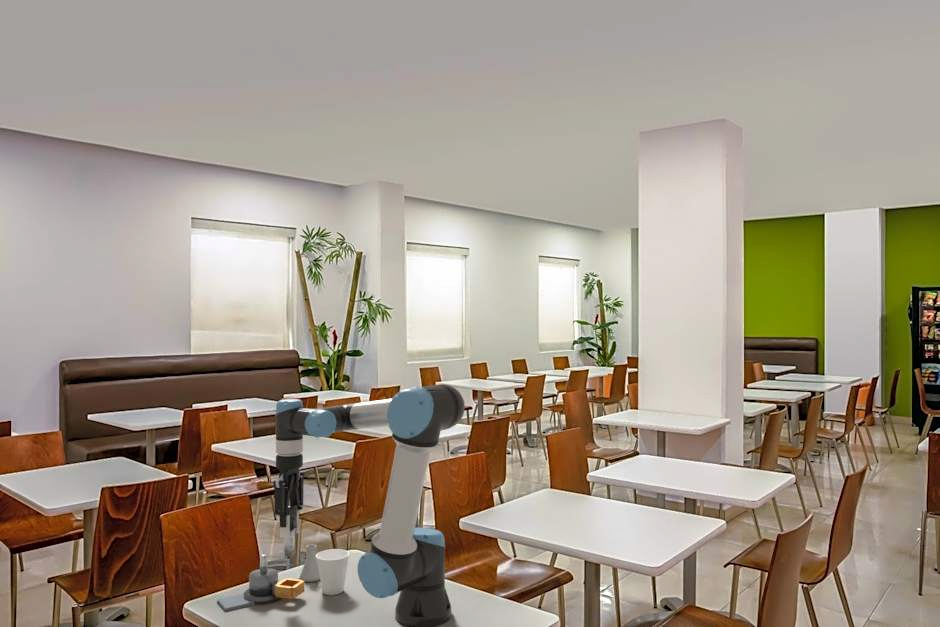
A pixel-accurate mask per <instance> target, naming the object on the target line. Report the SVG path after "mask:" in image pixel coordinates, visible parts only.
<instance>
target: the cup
mask: <svg viewBox="0 0 940 627" xmlns="http://www.w3.org/2000/svg"><path fill="white" fill-rule="evenodd" d="M350 555H351V553H350V551H349V550H346V549H339V548H332V549H331V548H330V549H325V550H323V551H319V552H316V558H317V563H318V569H319V574H320V580H319V581H320V587H321V592H322V593H323V594H324V595H327V596H337V595H339V594H341V593H343V591H344V588H345V581H346V577H347V575H346V574H347V569H348V563H349V558H350Z"/></svg>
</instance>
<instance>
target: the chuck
mask: <svg viewBox="0 0 940 627" xmlns="http://www.w3.org/2000/svg"><path fill="white" fill-rule="evenodd" d="M248 589H249V593H250V594H251V595H254V596H266V595H270V594H275V596H277V597H280V598H281V599H289V600H291V599H296V598H297V597H299V596H300V595H302V594H304V593H305V581H302V580H299V578H298V579H297V578H284V579H283V580H282V579H279V571H278V569H274V568H268V554H266V553H262V554H260V555H259V569H255V570H252V571H251V572H249V575H248Z"/></svg>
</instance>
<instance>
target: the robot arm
mask: <svg viewBox="0 0 940 627" xmlns="http://www.w3.org/2000/svg"><path fill="white" fill-rule="evenodd" d="M303 403H304V402H303V400H302V399H297V398H291V399H288V398H287V399H286V398H285V399H280V400H278V401H277V402H276V404H275V413H274V416H275V453H276V456H275V467H276V468H277V469H278V470H279V472H278V473H279V475H278V478H277V479H275V480H273V481H272V484H273V488H274V495H273V497H274V515H275V516H278V517H279V539H284V538H285V539H289V538H290V515H288V508H289V504H295V505H297V528H295V535H296V534H299V533H300V532H299V531H300V530H299V529H300V527H299V526H300V525H299V524H300V522H299V520H300V518H299V517H300V516H299V515H300V512H299V511H301V510H303V508H304V507H303V506H304V479H305V471H300V469H301V468H302V467H303V465H304V464H303V463H304V458H303V456H304V454H303V452H304V446H303V445H304V443H303V442H304V441H303V436H307V437H308V436H309V437H313V438H328V437H330V436H331V435H332V434H333V433H334V434H335V433H339V432H346V431H353V430H361V429H362V430H363V429H373V428H382V427H383V428H384V427H389V430H390V431H391V433H392V435H391V438H392V440H393V441H394V442H395V444H396V446H395V450H394V456H393V461H392V465H391V471H390V478H389V482H388V487H387V492H386V497H385V503H384V507H383V513H382V518H381V523H380V528H379V531H378V532H376V533H374V534H373V536H372V538H371V543H370V548H369V551H368V552H365V553H364V554H363V555H362V556H360V557H359V559H358V563H357V576H358V580H359V582H360V583H361V585H362V587H363V589H364V590H365V591H366V592H367V593H368V594H369V595H370V596H372V597H374V598H377V599H385V598H388V597H393V596H394V595H396V594H398V593H399V596H398V598H397V602H396V605H395V609H394V610H395V613H394V614H395V616H394V618H395V619H396V621H397V622H398V623H399V624H401V625H403V626H408V627H435V626H439V625H441V624H445V623H446V622H448V621H449V620H450V619H451V617H452V605H451V601H450V599H449V596H448V592H447V589H446V586H445V585H446V584H445V580H446V579H445V578H446V574H445V573H446V571H445V569H446V567H445V566H446V563H445V562H446V561H445V560H446V559H445V558H446V557H445V556H446V555H445V554H446V550H445V549H446V543H445V536H444V534H443V533H442V531H440V530H439V529H434V528H429V527H428V528H427V527H416V523H417V518H418V514H419V510H420V509H419V508H420V503H421V498H422V494H423V489H424V485H425V479H426V473H427V469H428V463H429V459H430V456H431V455H430V454H431V450H434V449H435V448H436V447H438V444H439V441H440V440H439V439H440V437H441V436H440V435H441V431H445V430H450V429H451V428H453V427H455V426H456V425H457V424H459V423H460V421H461V420H462V418H463V416H464V413H465V410H466V409H465V408H466V407H465V406H466V405H465V400H464V398H463V395H462V394H461V392H460V391H459V390H458V389H457V388H455V387H454V386H452V385H450V384H443V383H442V384H433V385H426V386H425V385H424V386H412V387H409V388H406V389H403V390H399V391H398V392H397V393H396V394H395V395H394V396H393V397H392V398H387V399H379V400H371V401H362V402H357V403H355V402H353V403H347V404H342V405H335V406H325V407H319V408H307V407H304V405H303Z"/></svg>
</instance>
